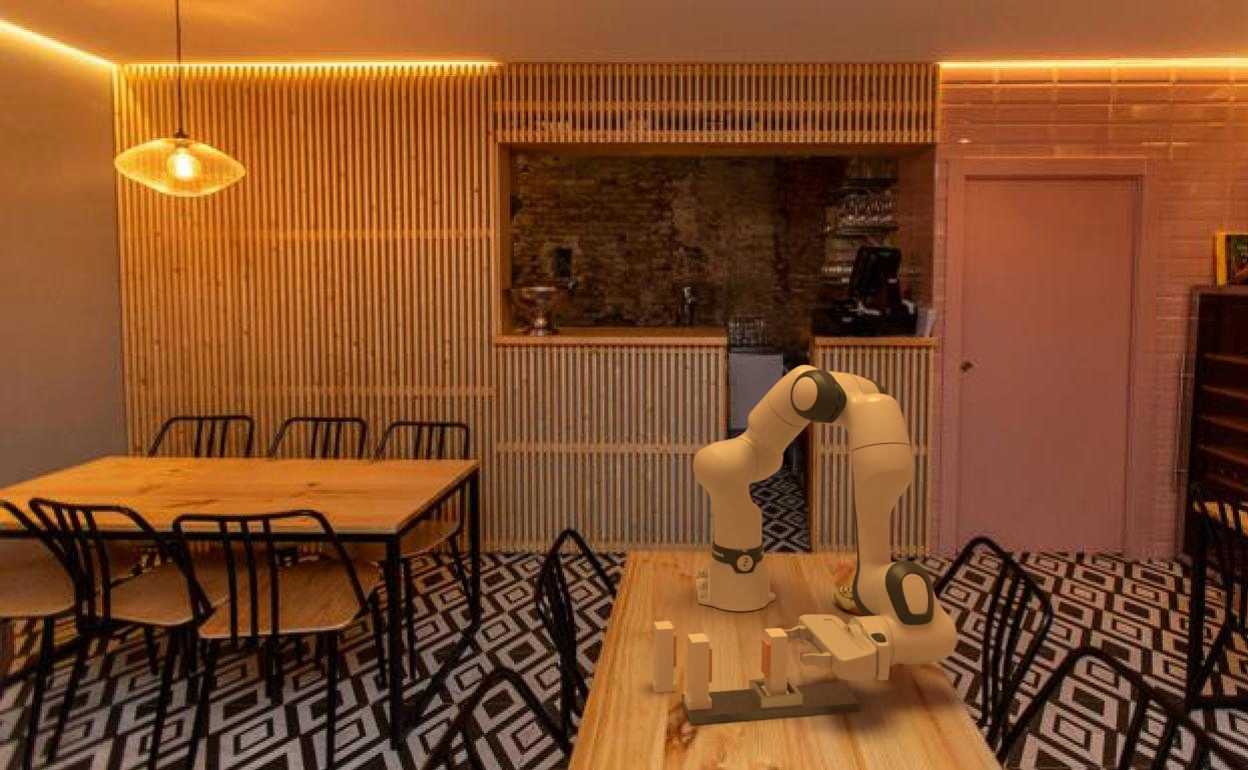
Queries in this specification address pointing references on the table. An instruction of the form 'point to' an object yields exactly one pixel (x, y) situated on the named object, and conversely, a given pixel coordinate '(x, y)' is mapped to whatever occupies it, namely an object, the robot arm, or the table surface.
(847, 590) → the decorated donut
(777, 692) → the beige tall square block
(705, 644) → the post
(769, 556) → the table surface
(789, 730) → the table surface
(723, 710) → the rail
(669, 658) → the white orange block
